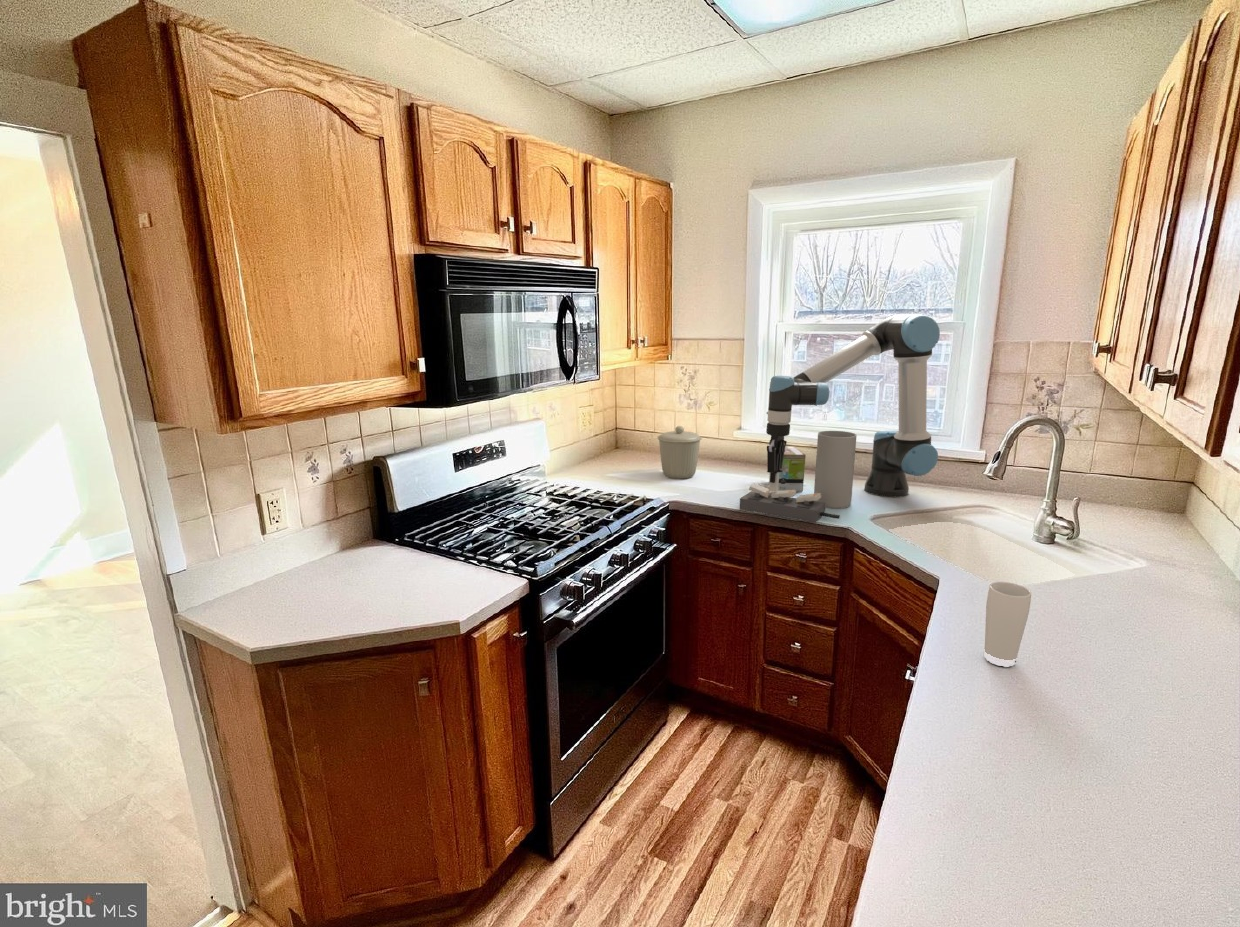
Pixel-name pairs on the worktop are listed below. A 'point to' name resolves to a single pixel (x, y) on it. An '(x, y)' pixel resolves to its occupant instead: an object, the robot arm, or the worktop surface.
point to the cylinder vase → (835, 468)
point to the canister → (679, 453)
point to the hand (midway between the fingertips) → (773, 490)
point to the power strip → (784, 507)
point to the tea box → (792, 470)
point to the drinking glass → (1006, 619)
